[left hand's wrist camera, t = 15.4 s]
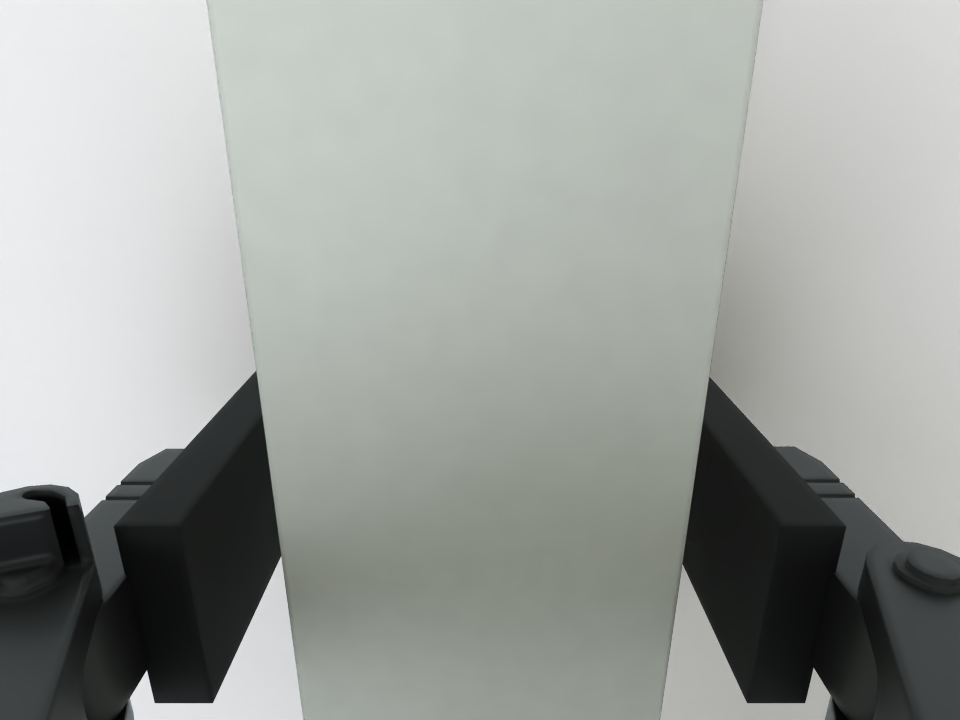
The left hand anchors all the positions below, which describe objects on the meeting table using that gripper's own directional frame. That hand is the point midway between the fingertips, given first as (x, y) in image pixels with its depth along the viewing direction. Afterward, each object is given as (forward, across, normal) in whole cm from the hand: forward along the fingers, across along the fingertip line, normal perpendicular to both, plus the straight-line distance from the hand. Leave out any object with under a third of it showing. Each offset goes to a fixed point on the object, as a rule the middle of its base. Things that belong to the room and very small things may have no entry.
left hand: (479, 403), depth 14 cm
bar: (+2, 0, -24) cm, 24 cm away
